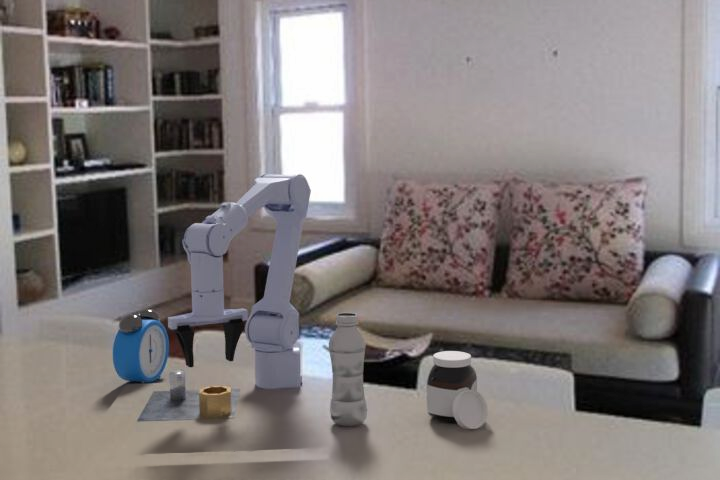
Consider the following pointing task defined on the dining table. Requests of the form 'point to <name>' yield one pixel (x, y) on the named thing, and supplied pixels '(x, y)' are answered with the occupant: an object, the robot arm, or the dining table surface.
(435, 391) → the spread jar
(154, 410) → the plate
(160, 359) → the alarm clock
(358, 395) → the plastic bottle
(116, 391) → the dining table surface
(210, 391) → the wooden octagonal tube
